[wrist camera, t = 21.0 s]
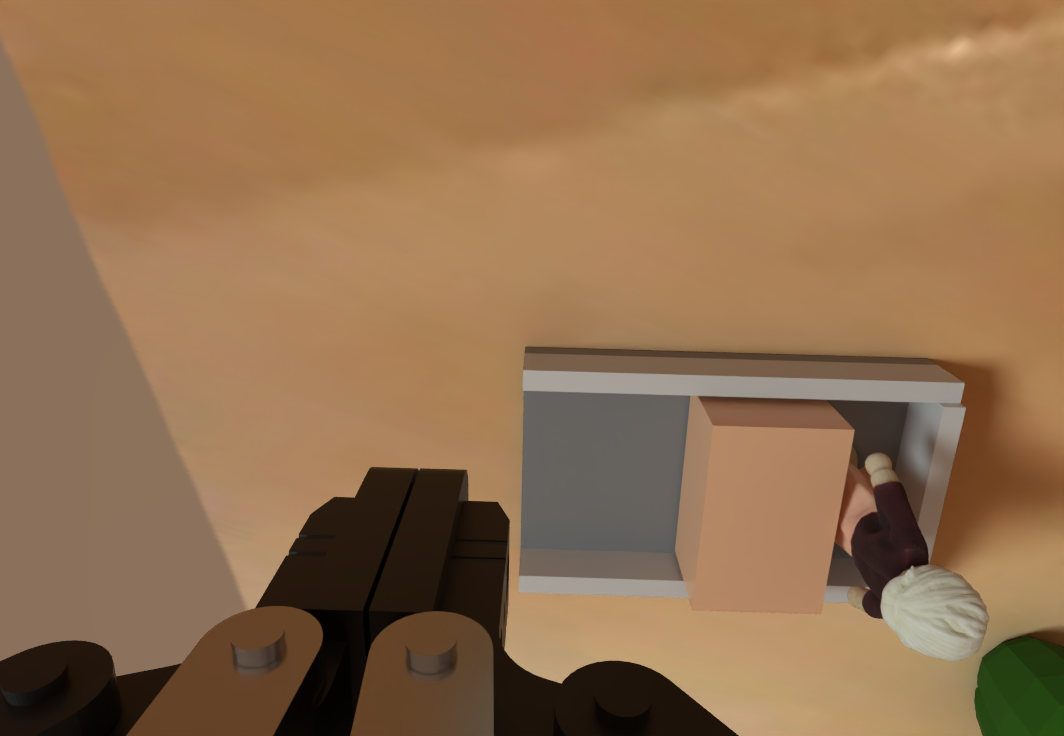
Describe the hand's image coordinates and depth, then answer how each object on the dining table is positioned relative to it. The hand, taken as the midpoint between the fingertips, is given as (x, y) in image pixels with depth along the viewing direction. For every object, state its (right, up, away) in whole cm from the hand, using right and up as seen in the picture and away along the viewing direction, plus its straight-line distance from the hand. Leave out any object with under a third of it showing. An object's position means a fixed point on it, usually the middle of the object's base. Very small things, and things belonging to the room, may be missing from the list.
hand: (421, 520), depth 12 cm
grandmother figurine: (+17, -3, +26) cm, 31 cm away
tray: (+11, -2, +27) cm, 29 cm away
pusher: (+12, -3, +26) cm, 29 cm away
